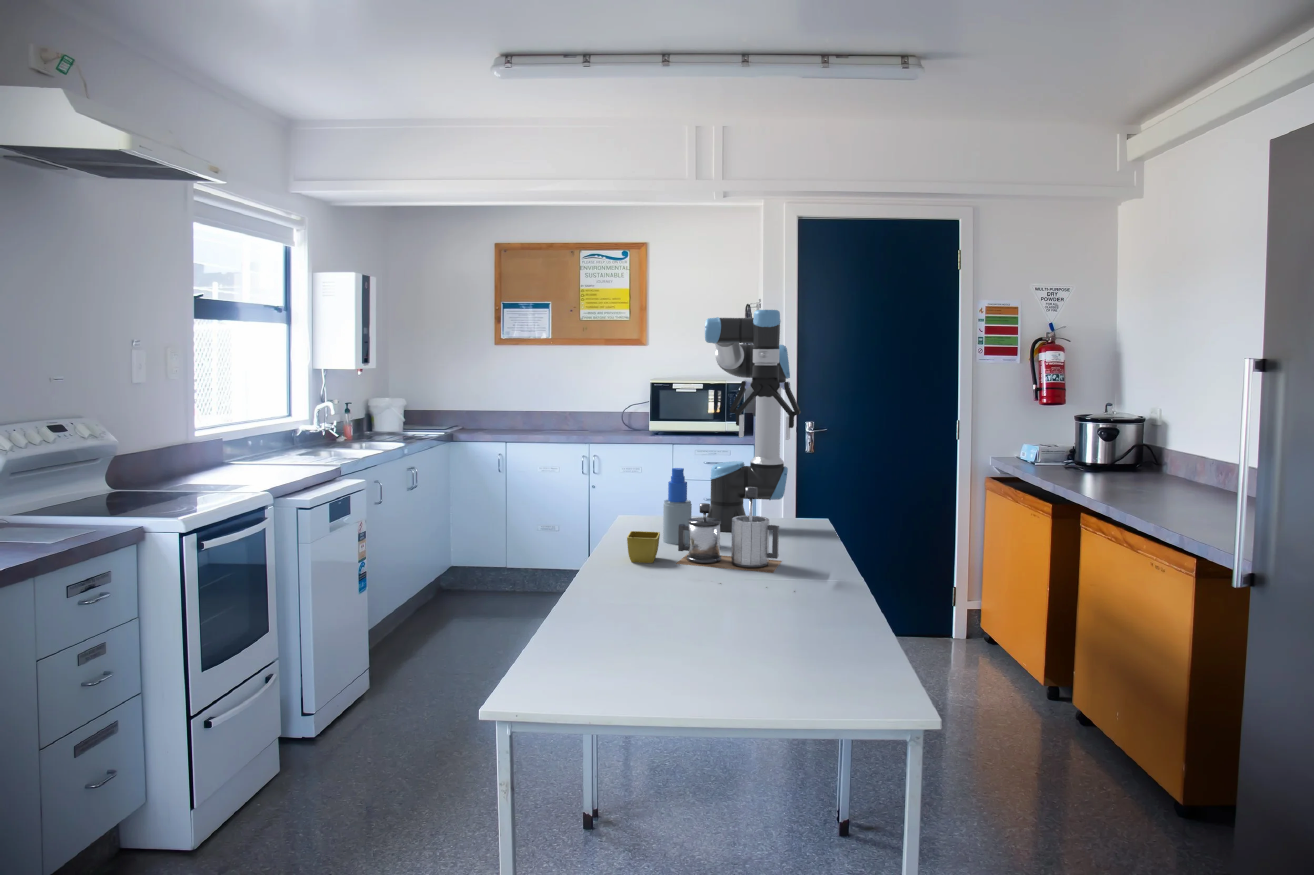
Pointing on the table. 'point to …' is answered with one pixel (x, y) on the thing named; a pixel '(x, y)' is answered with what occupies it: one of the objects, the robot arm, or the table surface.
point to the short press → (701, 538)
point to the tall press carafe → (753, 542)
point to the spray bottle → (676, 508)
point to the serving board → (727, 564)
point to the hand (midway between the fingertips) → (764, 438)
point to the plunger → (750, 494)
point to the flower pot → (643, 546)
